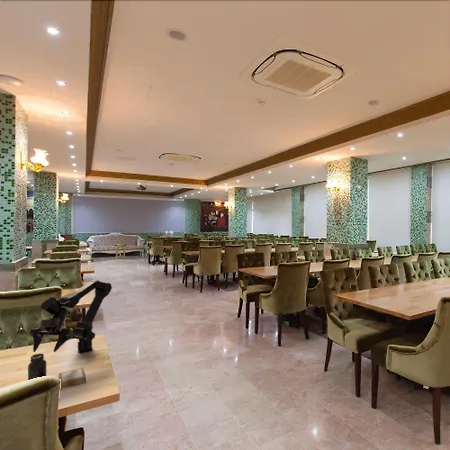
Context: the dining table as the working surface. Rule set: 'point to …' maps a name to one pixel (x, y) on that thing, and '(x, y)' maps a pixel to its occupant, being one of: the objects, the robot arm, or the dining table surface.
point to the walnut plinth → (72, 378)
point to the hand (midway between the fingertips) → (44, 351)
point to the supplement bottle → (37, 366)
